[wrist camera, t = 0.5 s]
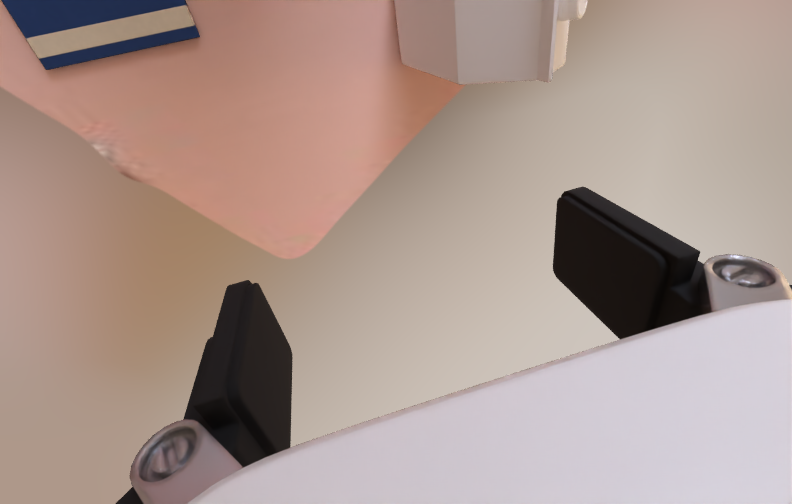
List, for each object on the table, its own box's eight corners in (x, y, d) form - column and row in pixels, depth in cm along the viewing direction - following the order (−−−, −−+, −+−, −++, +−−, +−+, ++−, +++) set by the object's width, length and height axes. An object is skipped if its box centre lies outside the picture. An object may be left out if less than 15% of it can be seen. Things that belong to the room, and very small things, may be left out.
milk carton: (401, 64, 35) (486, 94, 19) (390, -30, 31) (485, -91, 15) (472, 51, 35) (611, 70, 20) (470, -42, 32) (641, -112, 16)
